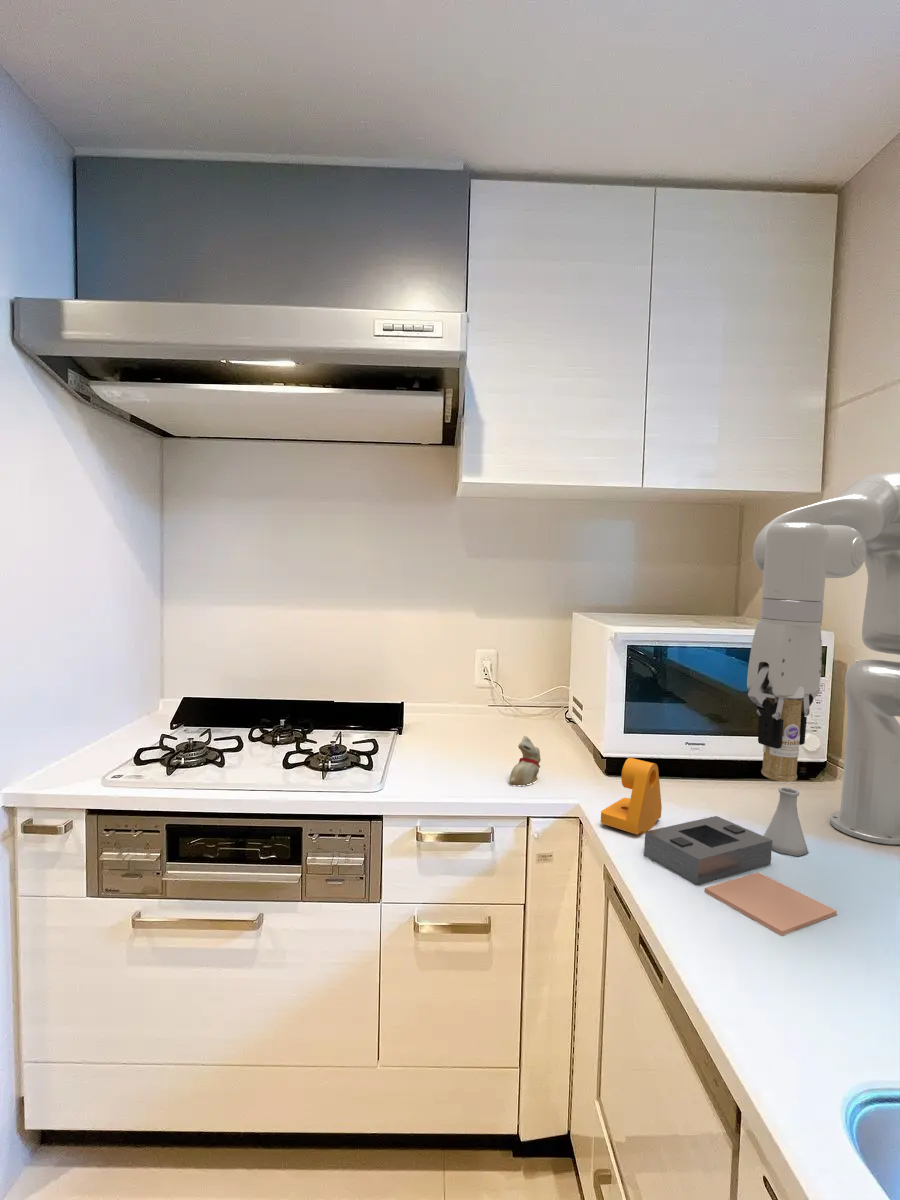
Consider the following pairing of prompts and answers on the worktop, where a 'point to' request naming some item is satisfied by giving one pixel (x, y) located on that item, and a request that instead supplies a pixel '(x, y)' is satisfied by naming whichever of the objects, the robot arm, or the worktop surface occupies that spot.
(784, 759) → the sprinkles bottle
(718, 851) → the socket bar
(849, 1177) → the worktop surface
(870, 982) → the worktop surface
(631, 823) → the bracket
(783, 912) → the coaster
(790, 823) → the flask
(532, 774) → the chocolate bunny
